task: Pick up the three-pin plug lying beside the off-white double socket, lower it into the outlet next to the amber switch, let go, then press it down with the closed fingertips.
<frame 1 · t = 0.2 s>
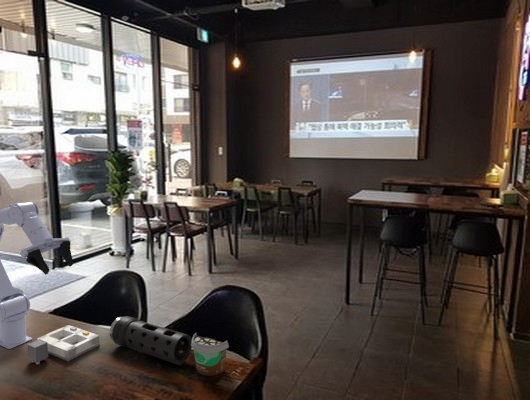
hand: (60, 268, 124), 31 cm above the table, tool tilted 45°, fingers open, 7 cm apart
double socket: (68, 346, 139), on the table
plug: (38, 361, 130), on the table
food container: (206, 372, 125), on the table
muzzle brake: (149, 355, 135), on the table
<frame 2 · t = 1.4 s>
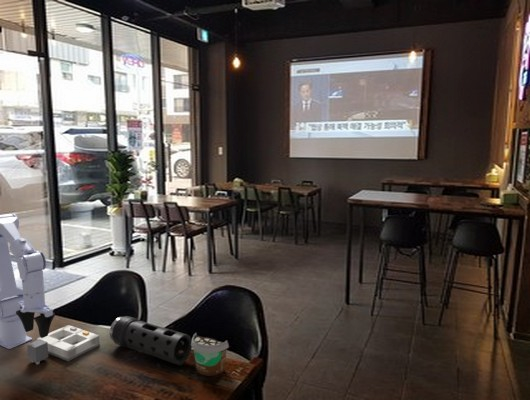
hand: (36, 333, 128), 9 cm above the table, tool pointing down, fingers open, 7 cm apart
nothing on the table moved.
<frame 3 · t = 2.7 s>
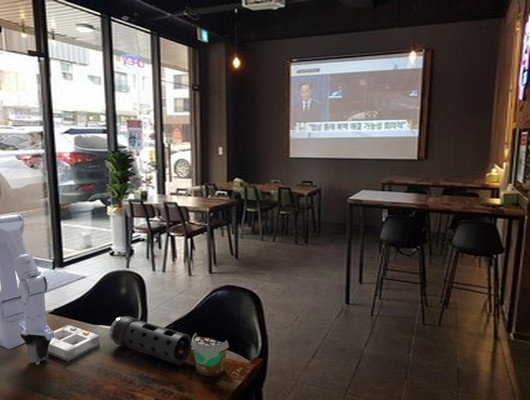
hand: (38, 355, 129), 2 cm above the table, tool pointing down, fingers closed on plug, 4 cm apart
plug: (38, 361, 130), on the table, touching gripper
everything else where it was.
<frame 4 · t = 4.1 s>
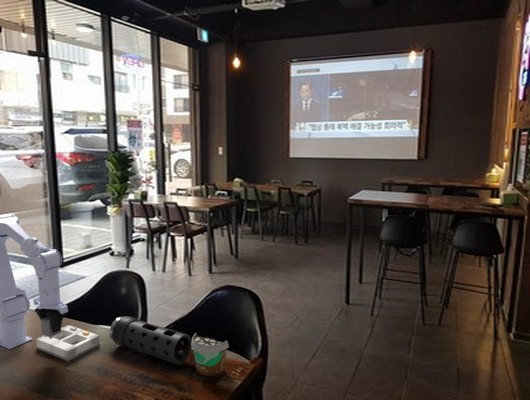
hand: (52, 329, 131), 9 cm above the table, tool pointing down, fingers closed on plug, 4 cm apart
plug: (52, 336, 131), point 7 cm above the table, touching gripper
everything else where it was.
when the fingers open (4 cm above the table, at t = 5.8 s): plug drops 1 cm, resting on double socket.
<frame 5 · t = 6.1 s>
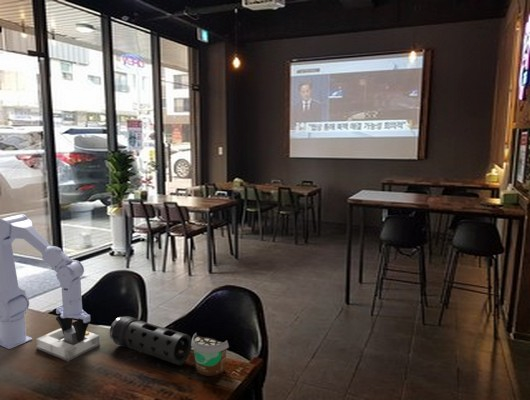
hand: (74, 337, 137), 4 cm above the table, tool pointing down, fingers open, 6 cm apart
plug: (74, 347, 137), point 1 cm above the table, touching double socket
everything else where it was.
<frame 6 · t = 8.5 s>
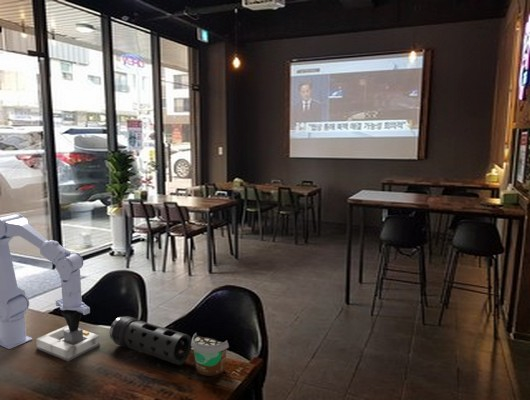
hand: (73, 330, 136), 7 cm above the table, tool pointing down, fingers closed, pressing on plug
plug: (74, 347, 137), point 1 cm above the table, touching double socket, gripper
everything else where it was.
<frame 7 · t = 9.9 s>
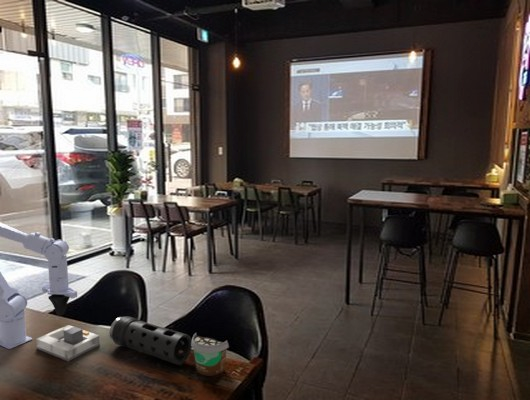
hand: (60, 314, 142), 9 cm above the table, tool pointing down, fingers closed
plug: (74, 347, 137), point 1 cm above the table, touching double socket
everything else where it was.
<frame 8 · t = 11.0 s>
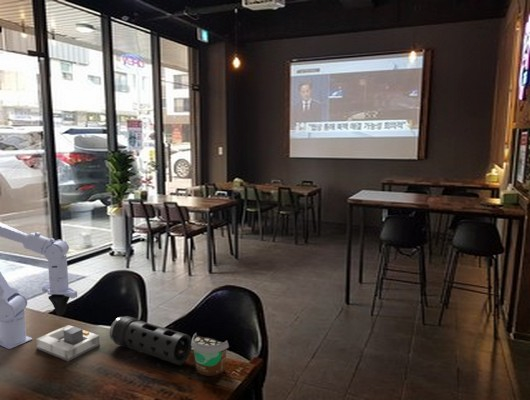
hand: (60, 314, 142), 9 cm above the table, tool pointing down, fingers closed
nothing on the table moved.
at the end: plug 0.2 cm from the target spot on the double socket, point 0.8 cm above the double socket's base; plug tilted 0°; the gripper is holding nothing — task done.
